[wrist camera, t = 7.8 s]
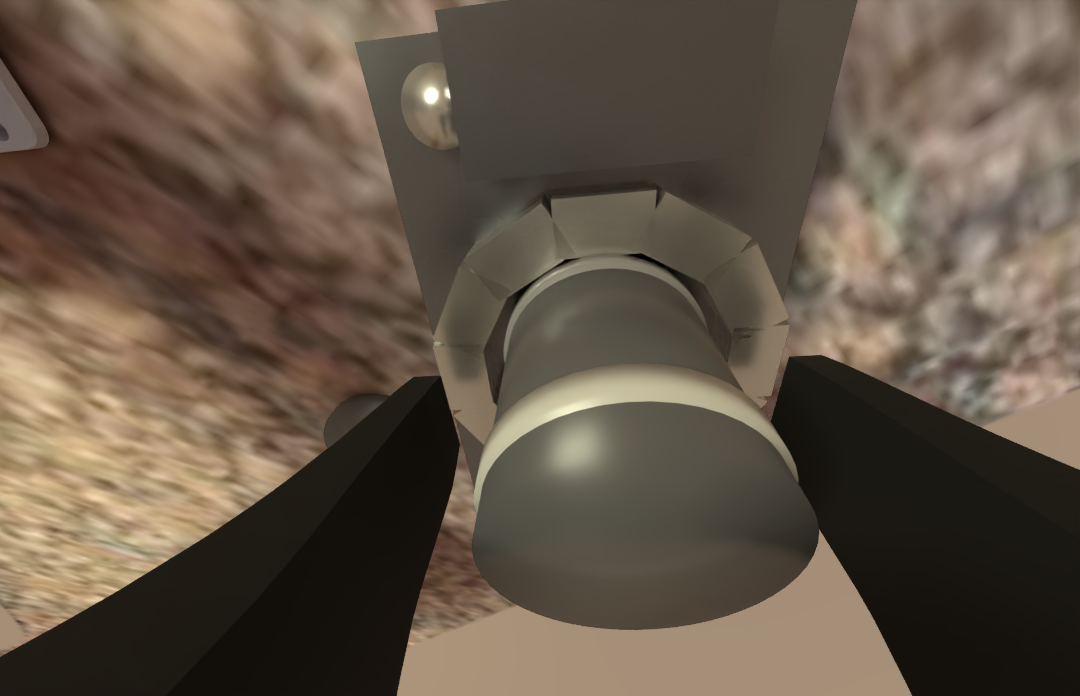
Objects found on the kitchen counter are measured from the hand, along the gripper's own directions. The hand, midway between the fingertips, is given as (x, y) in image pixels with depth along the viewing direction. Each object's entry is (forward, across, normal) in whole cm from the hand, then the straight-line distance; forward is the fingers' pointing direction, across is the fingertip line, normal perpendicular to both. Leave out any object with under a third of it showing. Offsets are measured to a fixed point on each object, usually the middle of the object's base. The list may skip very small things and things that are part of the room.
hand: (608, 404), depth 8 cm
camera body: (+6, 0, 0) cm, 6 cm away
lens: (+2, 0, -1) cm, 2 cm away
